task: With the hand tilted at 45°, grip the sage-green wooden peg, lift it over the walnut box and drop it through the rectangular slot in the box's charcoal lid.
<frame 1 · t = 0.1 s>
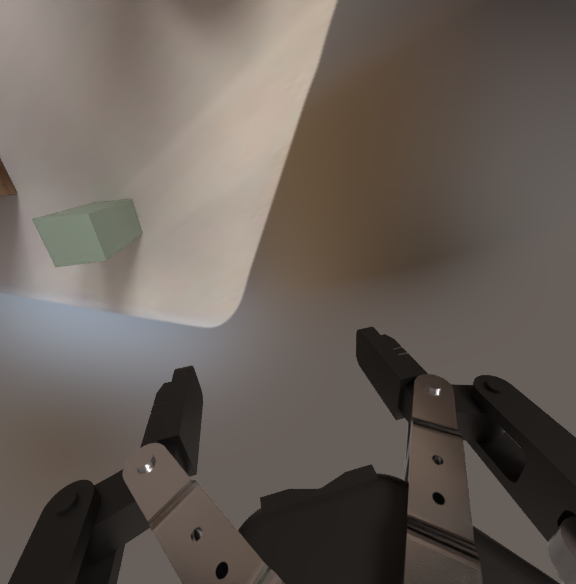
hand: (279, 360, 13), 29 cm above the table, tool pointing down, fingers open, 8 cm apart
sage peg: (119, 218, 35), on the table
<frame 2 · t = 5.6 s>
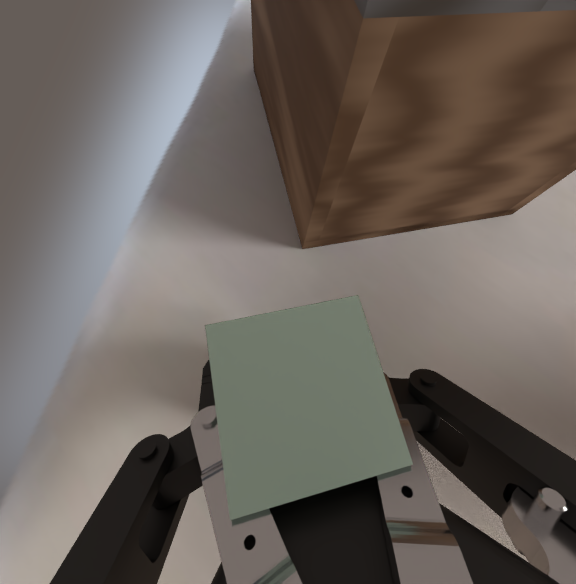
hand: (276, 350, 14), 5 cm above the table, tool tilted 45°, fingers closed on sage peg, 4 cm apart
sage peg: (280, 388, 18), on the table, touching gripper
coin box: (373, 136, 27), on the table
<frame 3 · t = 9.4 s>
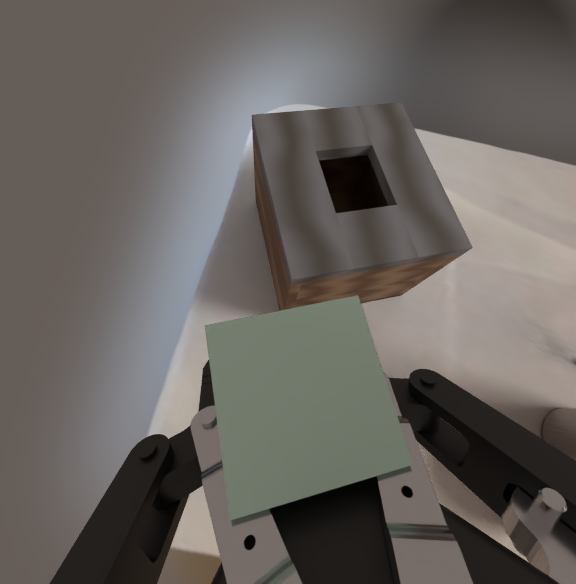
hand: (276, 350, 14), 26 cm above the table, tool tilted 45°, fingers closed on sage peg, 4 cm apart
sage peg: (280, 388, 18), point 21 cm above the table, touching gripper
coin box: (325, 246, 46), on the table
when the fingers open (20 cm above the table, at t = 13.4 s): sage peg drops 14 cm, resting on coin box.
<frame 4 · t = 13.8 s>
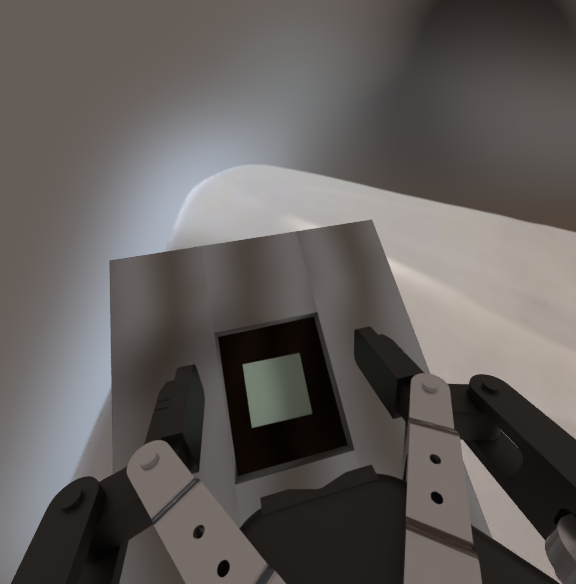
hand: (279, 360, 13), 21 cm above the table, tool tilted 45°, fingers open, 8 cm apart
sage peg: (273, 387, 31), point 1 cm above the table, touching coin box
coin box: (273, 387, 32), on the table
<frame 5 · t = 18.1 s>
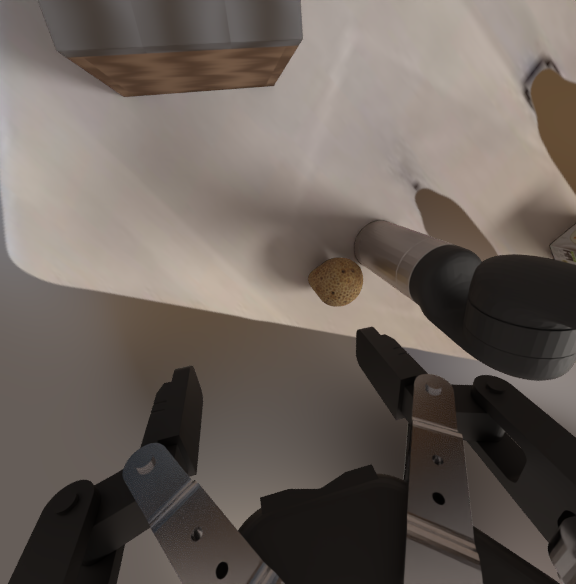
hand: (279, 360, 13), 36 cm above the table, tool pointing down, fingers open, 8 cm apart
coffee box: (567, 239, 62), on the table
natural sponge: (327, 271, 53), on the table
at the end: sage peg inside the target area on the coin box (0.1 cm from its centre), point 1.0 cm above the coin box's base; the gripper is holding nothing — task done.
